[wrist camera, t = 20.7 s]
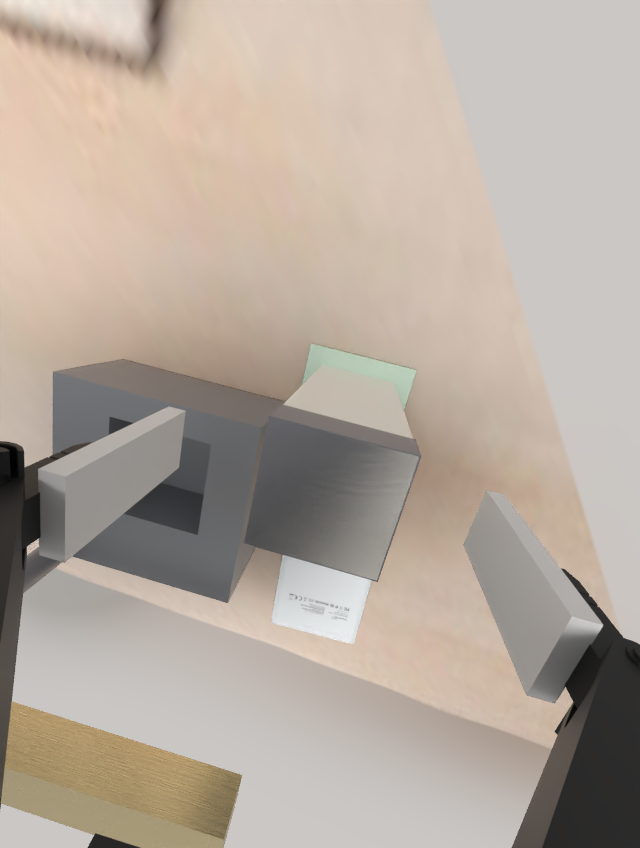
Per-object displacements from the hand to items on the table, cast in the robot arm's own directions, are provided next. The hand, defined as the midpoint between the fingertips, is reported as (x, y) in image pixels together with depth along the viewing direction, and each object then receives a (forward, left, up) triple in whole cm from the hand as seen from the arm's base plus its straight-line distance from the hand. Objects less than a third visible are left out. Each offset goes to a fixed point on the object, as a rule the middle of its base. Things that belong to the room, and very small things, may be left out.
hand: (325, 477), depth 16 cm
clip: (-10, -14, +4) cm, 17 cm away
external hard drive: (+2, -16, -15) cm, 22 cm away
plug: (0, 0, -13) cm, 13 cm away
